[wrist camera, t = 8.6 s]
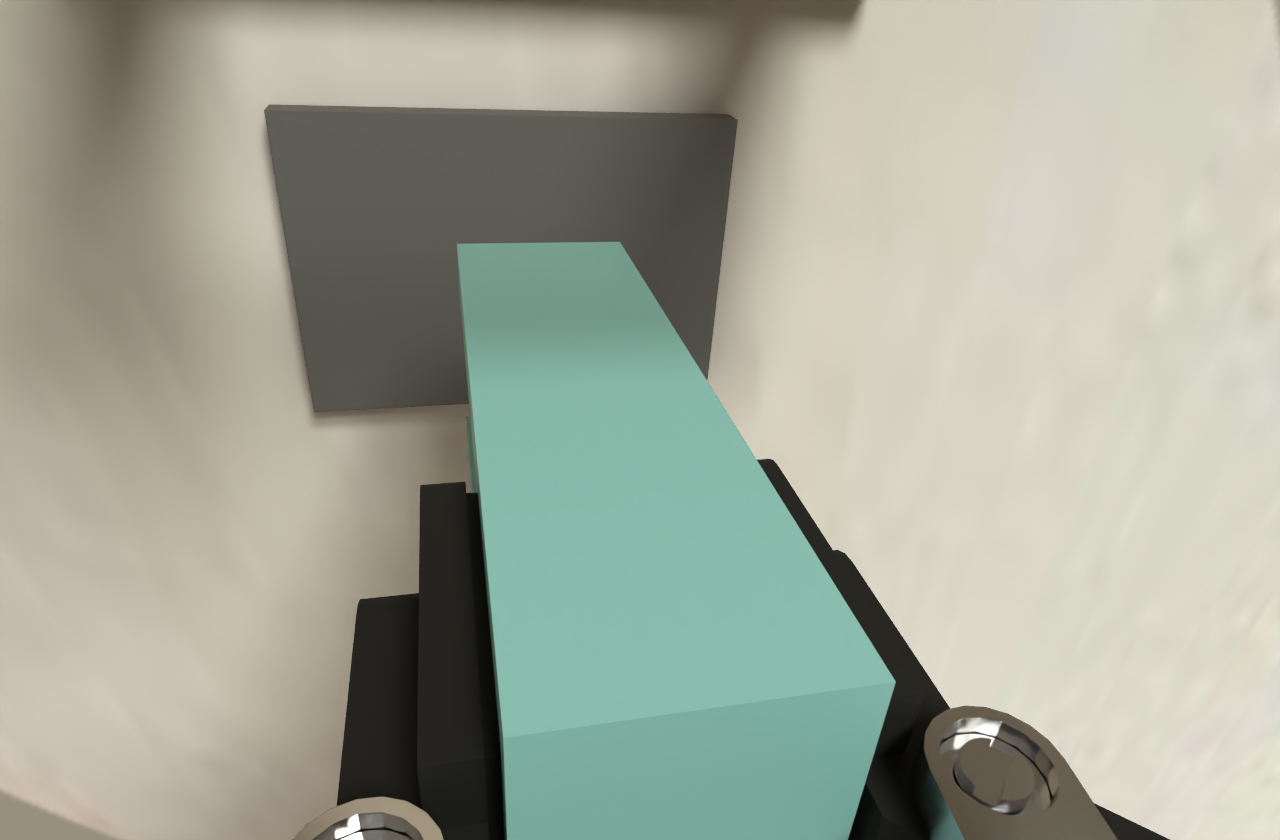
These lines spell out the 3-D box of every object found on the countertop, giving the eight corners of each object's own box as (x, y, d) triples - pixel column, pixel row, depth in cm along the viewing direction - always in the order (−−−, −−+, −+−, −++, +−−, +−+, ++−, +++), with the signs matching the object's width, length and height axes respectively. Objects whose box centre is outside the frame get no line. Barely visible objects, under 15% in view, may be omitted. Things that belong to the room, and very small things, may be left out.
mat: (268, 105, 17) (264, 110, 16) (729, 114, 19) (737, 120, 19) (316, 399, 20) (314, 412, 20) (699, 379, 23) (706, 390, 22)
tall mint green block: (456, 244, 15) (502, 737, 6) (619, 242, 15) (896, 681, 6) (468, 458, 17) (515, 1055, 8) (609, 449, 18) (802, 989, 9)
